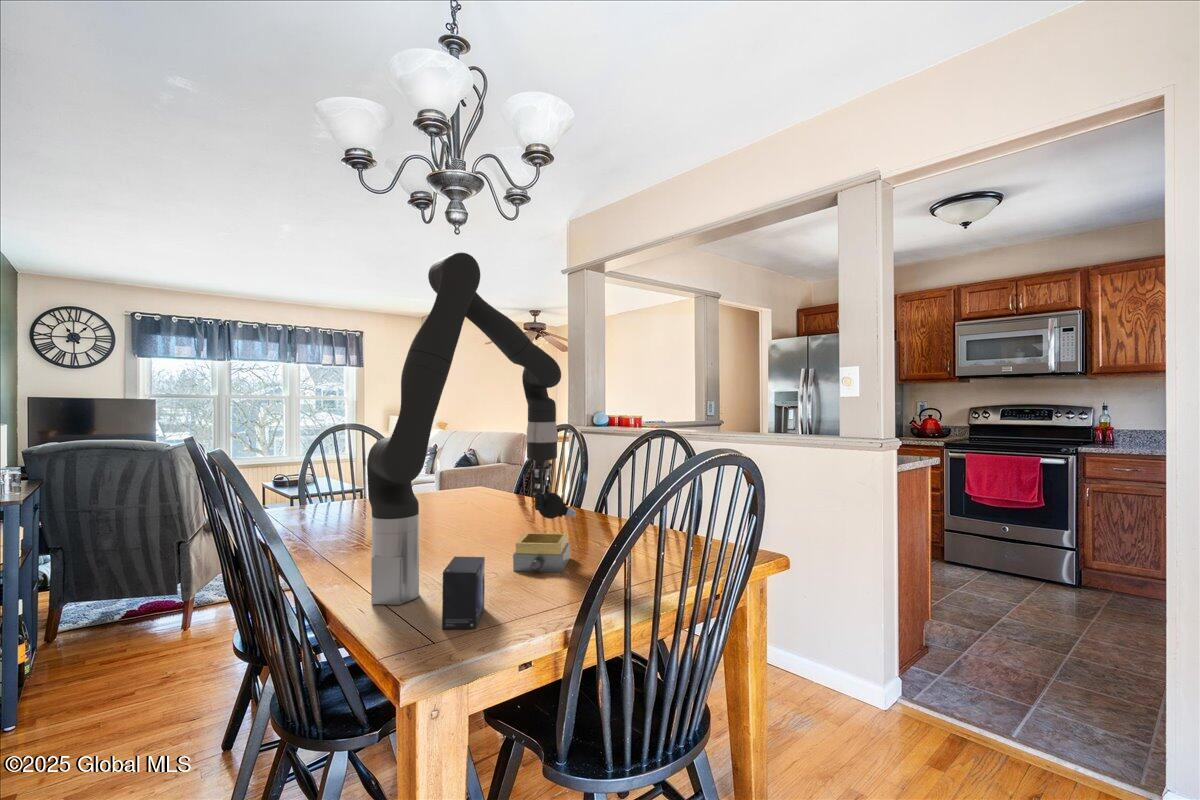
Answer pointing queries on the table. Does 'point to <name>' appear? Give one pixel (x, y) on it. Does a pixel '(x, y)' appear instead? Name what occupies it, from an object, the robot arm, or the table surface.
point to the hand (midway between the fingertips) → (542, 507)
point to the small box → (463, 592)
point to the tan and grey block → (542, 552)
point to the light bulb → (555, 507)
